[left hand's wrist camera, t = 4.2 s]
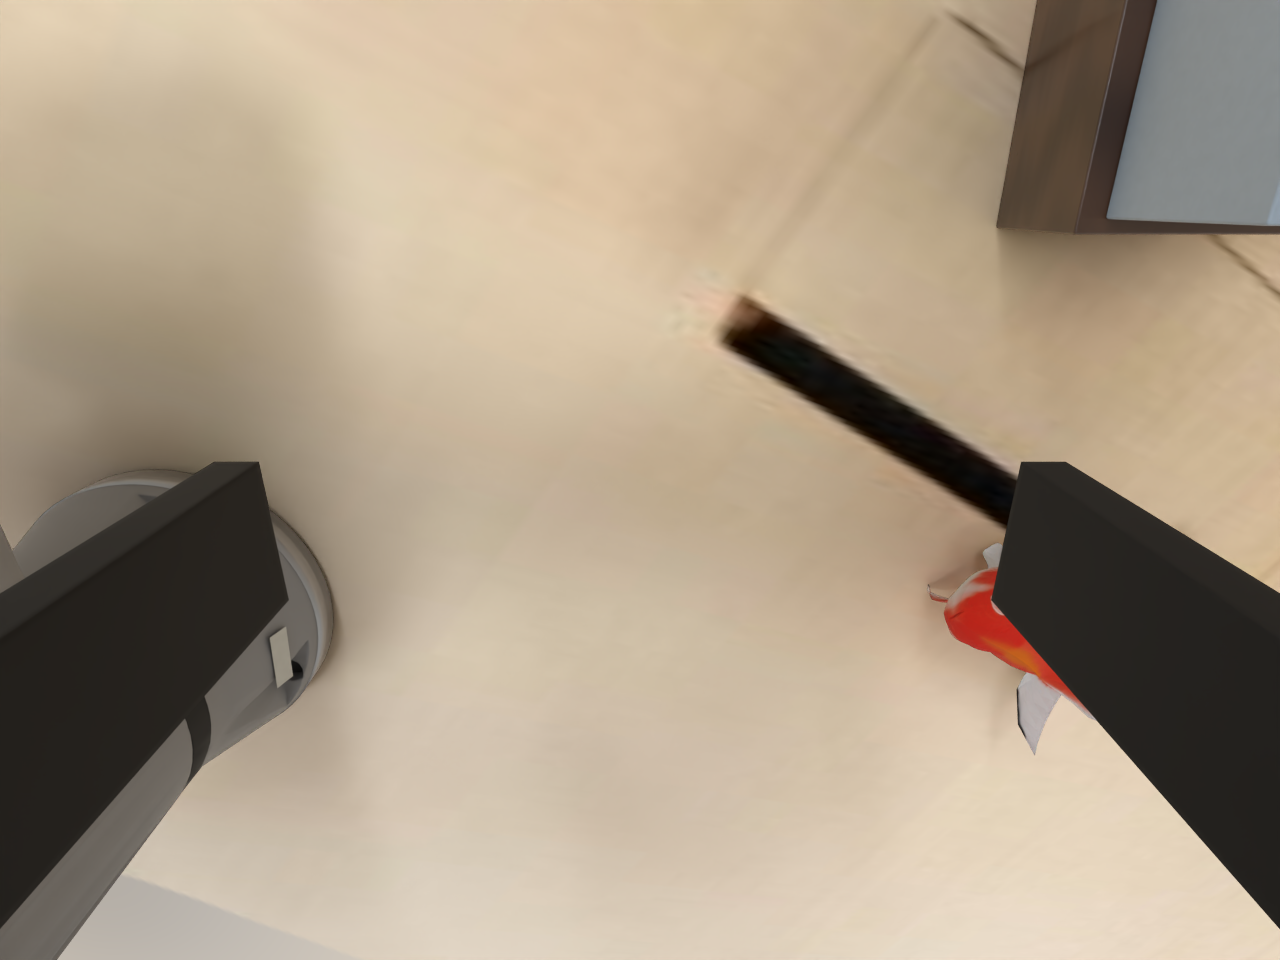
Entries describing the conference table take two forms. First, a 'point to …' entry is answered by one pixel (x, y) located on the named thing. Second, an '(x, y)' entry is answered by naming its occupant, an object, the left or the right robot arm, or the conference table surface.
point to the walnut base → (1081, 121)
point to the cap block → (1205, 117)
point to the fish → (1005, 646)
